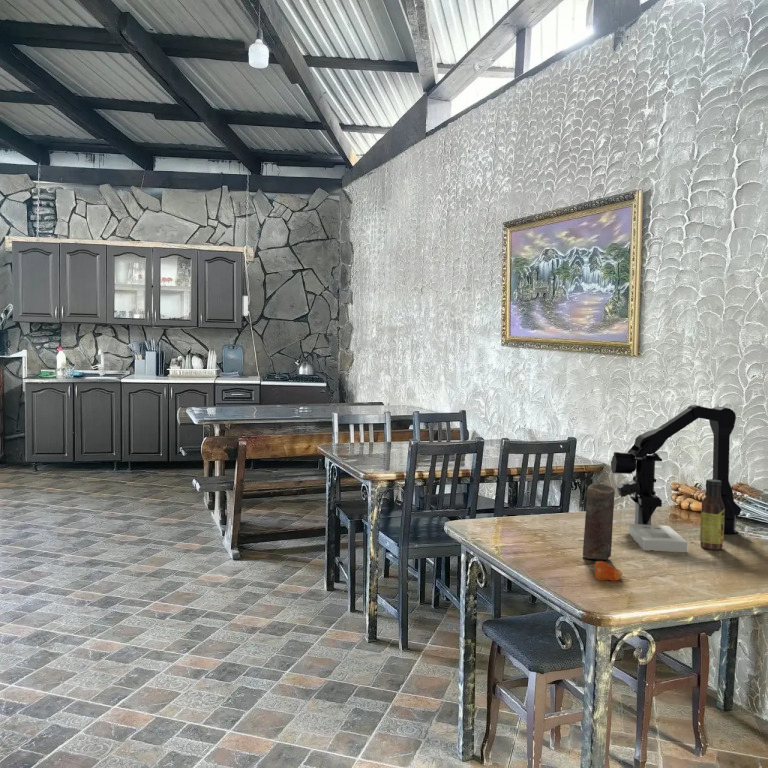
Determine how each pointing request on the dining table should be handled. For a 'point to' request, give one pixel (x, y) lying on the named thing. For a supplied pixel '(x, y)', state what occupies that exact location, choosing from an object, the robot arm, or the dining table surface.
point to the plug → (639, 516)
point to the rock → (606, 572)
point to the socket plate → (657, 538)
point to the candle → (598, 522)
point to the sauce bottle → (712, 517)
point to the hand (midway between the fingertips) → (642, 522)
